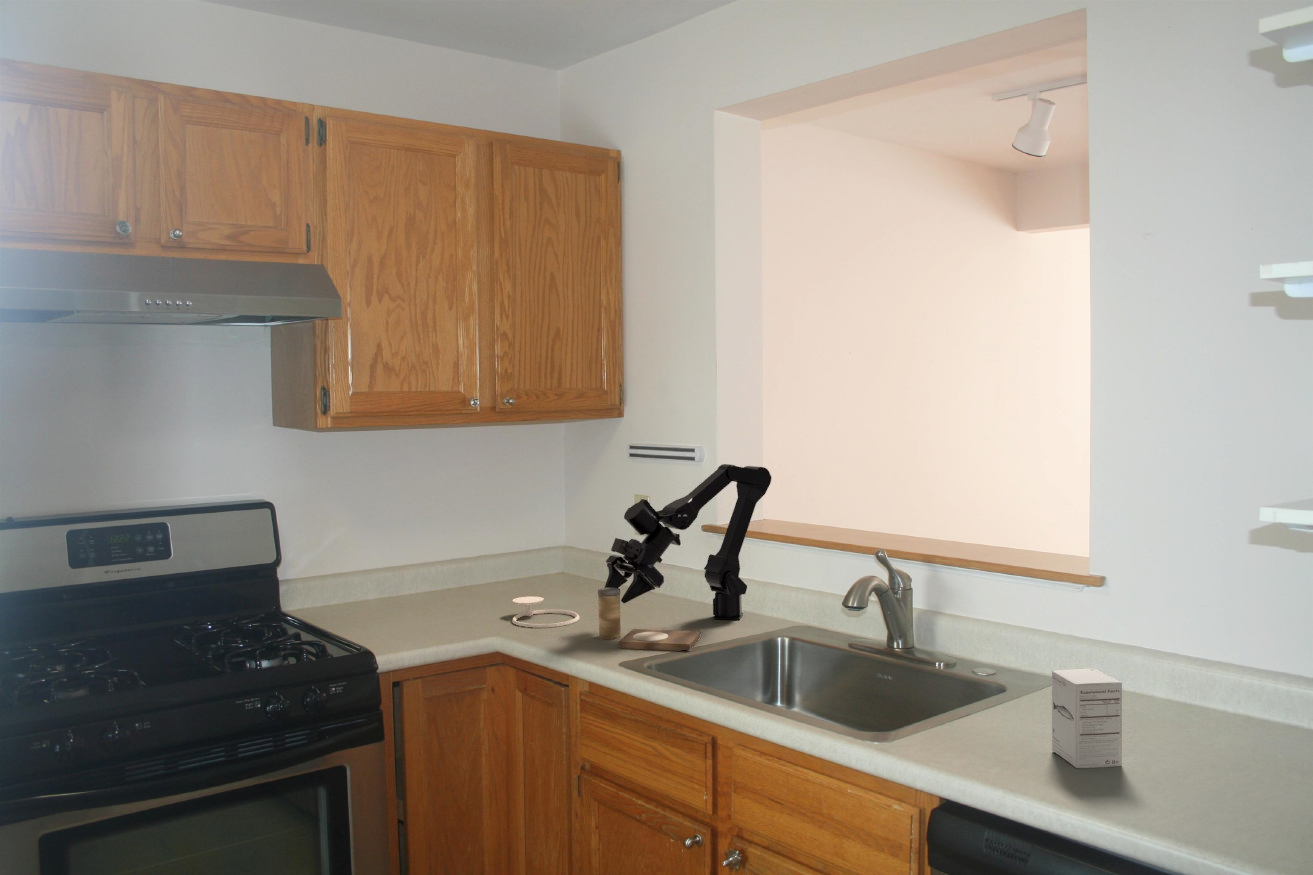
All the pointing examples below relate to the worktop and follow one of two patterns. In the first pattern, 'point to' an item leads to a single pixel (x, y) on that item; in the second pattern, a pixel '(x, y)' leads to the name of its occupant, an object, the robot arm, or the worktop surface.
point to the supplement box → (1087, 718)
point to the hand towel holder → (535, 600)
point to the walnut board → (659, 639)
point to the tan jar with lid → (609, 613)
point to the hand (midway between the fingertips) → (612, 598)
